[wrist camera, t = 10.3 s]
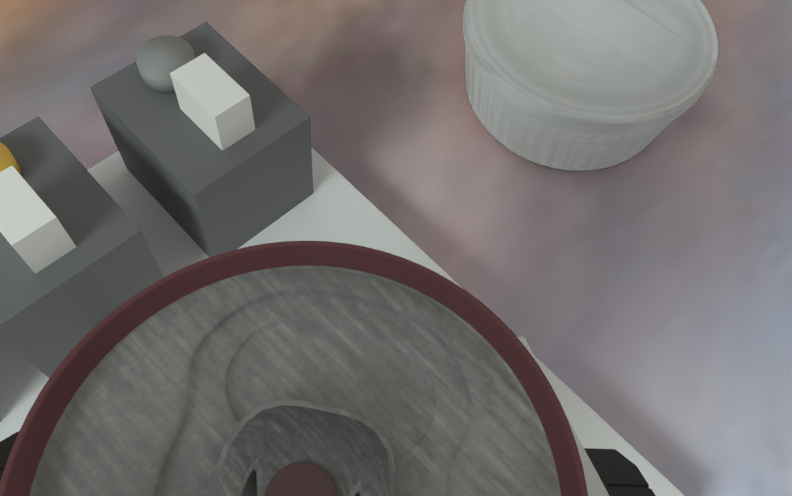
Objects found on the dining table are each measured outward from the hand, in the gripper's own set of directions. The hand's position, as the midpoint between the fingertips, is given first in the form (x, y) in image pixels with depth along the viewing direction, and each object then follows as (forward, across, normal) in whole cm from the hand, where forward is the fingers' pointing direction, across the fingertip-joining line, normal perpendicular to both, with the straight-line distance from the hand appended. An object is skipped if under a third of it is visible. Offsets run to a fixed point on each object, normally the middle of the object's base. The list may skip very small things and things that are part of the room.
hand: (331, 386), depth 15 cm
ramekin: (+21, +10, +5) cm, 24 cm away
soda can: (0, 0, -6) cm, 6 cm away
